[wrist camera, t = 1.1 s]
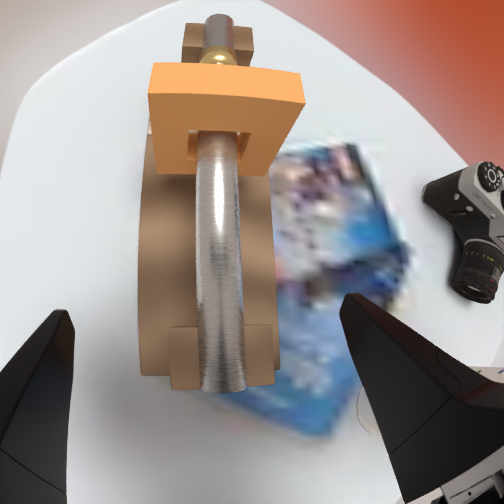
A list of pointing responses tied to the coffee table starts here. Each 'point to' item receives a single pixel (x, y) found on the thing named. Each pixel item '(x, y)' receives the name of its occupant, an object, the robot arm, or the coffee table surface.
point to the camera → (473, 225)
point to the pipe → (219, 238)
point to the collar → (221, 112)
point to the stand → (184, 261)
